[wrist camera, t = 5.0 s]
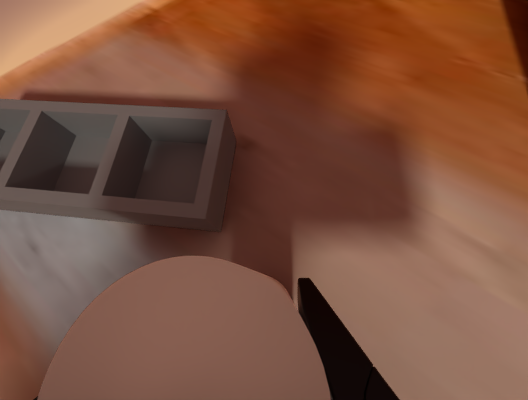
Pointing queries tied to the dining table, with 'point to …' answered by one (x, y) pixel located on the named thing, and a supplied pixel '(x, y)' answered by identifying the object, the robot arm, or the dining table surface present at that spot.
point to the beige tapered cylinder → (188, 339)
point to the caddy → (116, 162)
